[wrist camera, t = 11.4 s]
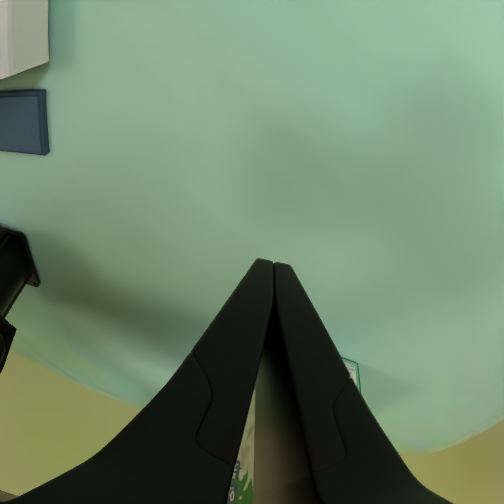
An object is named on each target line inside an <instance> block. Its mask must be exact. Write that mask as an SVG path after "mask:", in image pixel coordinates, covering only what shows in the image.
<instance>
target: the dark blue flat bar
mask: <svg viewBox="0 0 504 504" xmlns="http://www.w3.org/2000/svg"><path fill="white" fill-rule="evenodd" d="M0 151H8V152H18V153H28V154H37V155H46V154H47V153H49V143H48V130H47V113H46V90H45V89H42V90H12V91H0Z"/></svg>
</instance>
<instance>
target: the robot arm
mask: <svg viewBox="0 0 504 504" xmlns="http://www.w3.org/2000/svg"><path fill="white" fill-rule="evenodd" d="M26 284H28V285H31V286H34V287H38V286H39V285H40V280H39V277H38V274H37V271H36V268H35V265H34V262H33V259H32V256H31V253H30V249H29V246H28V243H27V239H26V237H25V235H24V234H22V233H20V232H16V231H12V230H8V229H5V228H1V227H0V373H1V371H2V369H3V367H4V364H5V362H6V358H7V355H8V352H9V350H10V347H11V344H12V341H13V338H14V335H15V333H16V330H17V329H16V328H15V327H14V326H13V325H11V324H10V323H9V322H8V321H7V320H6V319H5V317H6V315H7V314H8V312H9V310H10V309H11V307H12V305H13V304H14V302H15V300H16V299H17V297H18V296H19V294H20V293H21V291H22V290H23V288H24V286H25V285H26ZM350 376H351V375H350V373H349V371H348V369H347V367H346V365H345V363H344V362H343V360H342V358H341V356H340V354H339V352H338V350H337V348H336V347H335V345H334V343H333V341H332V339H331V337H330V336H329V334H328V332H327V330H326V328H325V326H324V325H323V323H322V321H321V319H320V317H319V315H318V314H317V312H316V310H315V308H314V306H313V304H312V303H311V301H310V299H309V297H308V295H307V294H306V292H305V290H304V288H303V286H302V285H301V283H300V281H299V279H298V277H297V276H296V274H295V272H294V270H293V269H292V267H291V266H290V265H288V264H284V263H279V262H275V263H274V264H273V262H272V261H270V260H265V259H260V258H258V259H256V260H255V262H254V263H253V264H252V266H251V267H250V269H249V270H248V272H247V273H246V274H245V276H244V277H243V279H242V280H241V282H240V283H239V284H238V286H237V287H236V289H235V290H234V291H233V293H232V294H231V296H230V297H229V299H228V300H227V301H226V303H225V304H224V306H223V307H222V308H221V310H220V311H219V313H218V314H217V315H216V317H215V318H214V320H213V321H212V323H211V324H210V325H209V327H208V328H207V330H206V331H205V332H204V334H203V335H202V337H201V338H200V339H199V341H198V342H197V344H196V345H195V346H194V348H193V349H192V351H191V353H189V355H188V356H187V357H186V359H185V360H184V361H183V363H182V364H181V366H180V367H179V368H178V370H177V371H176V372H175V373H174V375H173V376H172V377H171V379H170V380H169V381H168V382H167V384H166V385H165V386H164V387H163V388H162V389H161V390H160V391H159V392H158V394H157V395H156V396H155V397H154V398H153V399H152V400H151V401H150V402H149V403H148V404H147V405H146V406H145V407H144V408H143V409H142V411H140V413H139V414H138V415H136V417H135V418H134V419H133V420H132V421H131V422H130V423H129V424H128V425H127V426H126V427H125V428H124V429H123V430H122V431H121V432H120V433H119V434H118V435H117V436H116V437H115V438H114V439H112V440H111V442H109V443H108V444H107V445H106V446H105V447H104V448H102V450H100V451H99V452H98V453H96V454H95V455H94V456H93V457H91V458H90V459H88V460H87V461H85V462H84V463H82V464H80V465H78V466H76V467H75V468H73V469H71V470H69V471H67V472H65V473H63V474H62V475H60V476H58V477H56V478H54V479H52V480H50V481H48V482H47V483H45V484H43V485H41V486H39V487H37V488H35V489H33V490H31V491H29V492H27V493H25V494H23V495H21V496H16V495H13V494H10V493H7V492H4V491H1V490H0V504H227V502H228V496H229V491H230V486H231V481H232V477H233V473H234V467H235V465H236V461H237V457H238V453H239V449H240V445H241V441H242V437H243V433H244V429H245V425H246V421H247V417H248V413H249V408H250V404H251V400H252V396H253V391H254V387H255V429H254V471H253V504H453V503H451V502H450V501H448V500H446V499H444V498H442V497H441V496H439V495H437V494H435V493H434V492H432V491H430V490H429V489H427V488H426V487H425V486H423V485H422V484H421V483H420V482H419V481H418V480H417V479H416V478H415V477H414V476H413V474H412V473H411V472H410V470H409V469H408V467H407V466H406V464H405V463H404V461H403V460H402V458H401V457H400V455H399V454H398V452H397V451H396V449H395V448H394V446H393V445H392V443H391V442H390V440H389V439H388V437H387V436H386V434H385V433H384V431H383V430H382V428H381V427H380V425H379V424H378V422H377V420H376V419H375V417H374V416H373V414H372V413H371V411H370V409H369V407H368V406H367V404H366V402H365V400H364V399H363V397H362V395H361V393H360V391H359V390H358V388H357V386H356V384H355V382H354V380H353V378H350Z"/></svg>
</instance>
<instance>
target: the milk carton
mask: <svg viewBox="0 0 504 504" xmlns="http://www.w3.org/2000/svg"><path fill="white" fill-rule="evenodd" d="M342 360H343V362H344V363H345V365H346V367H347V369H348V371H349V373H350V375H351V376H350V378H353V380H354V382H355V384H356V386H357V388H358V390H359V391H360V393H361V386H360V377H359V368H358V364H357V363H354V362H351V361H348V360H346V359H343V358H342ZM254 429H255V387H254V391H253V396H252V400H251V404H250V408H249V413H248V417H247V421H246V425H245V429H244V433H243V437H242V441H241V445H240V449H239V453H238V457H237V461H236V465H235V467H234V473H233V477H232V481H231V486H230V491H229V496H228V502H227V504H253V471H254Z"/></svg>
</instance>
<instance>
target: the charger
mask: <svg viewBox="0 0 504 504" xmlns="http://www.w3.org/2000/svg"><path fill="white" fill-rule="evenodd" d="M46 62H49V52H48V0H0V79H3V78H6V77H9V76H12V75H15V74H17V73H20V72H22V71H25V70H27V69H30V68H32V67H35V66H38V65H41V64H44V63H46Z"/></svg>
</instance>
